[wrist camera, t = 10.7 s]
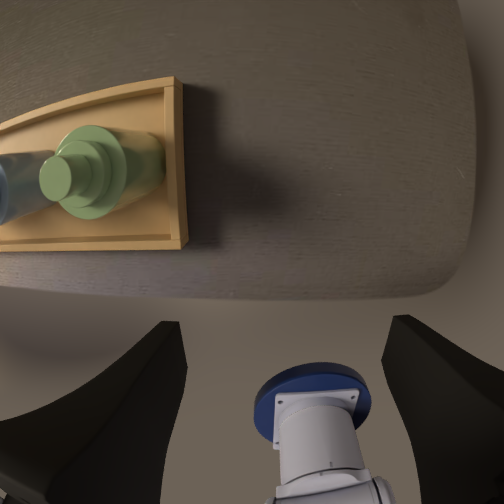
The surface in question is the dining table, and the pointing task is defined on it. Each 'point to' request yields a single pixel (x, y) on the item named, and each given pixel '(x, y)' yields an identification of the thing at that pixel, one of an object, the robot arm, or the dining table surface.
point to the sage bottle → (103, 170)
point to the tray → (130, 216)
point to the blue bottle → (22, 184)
